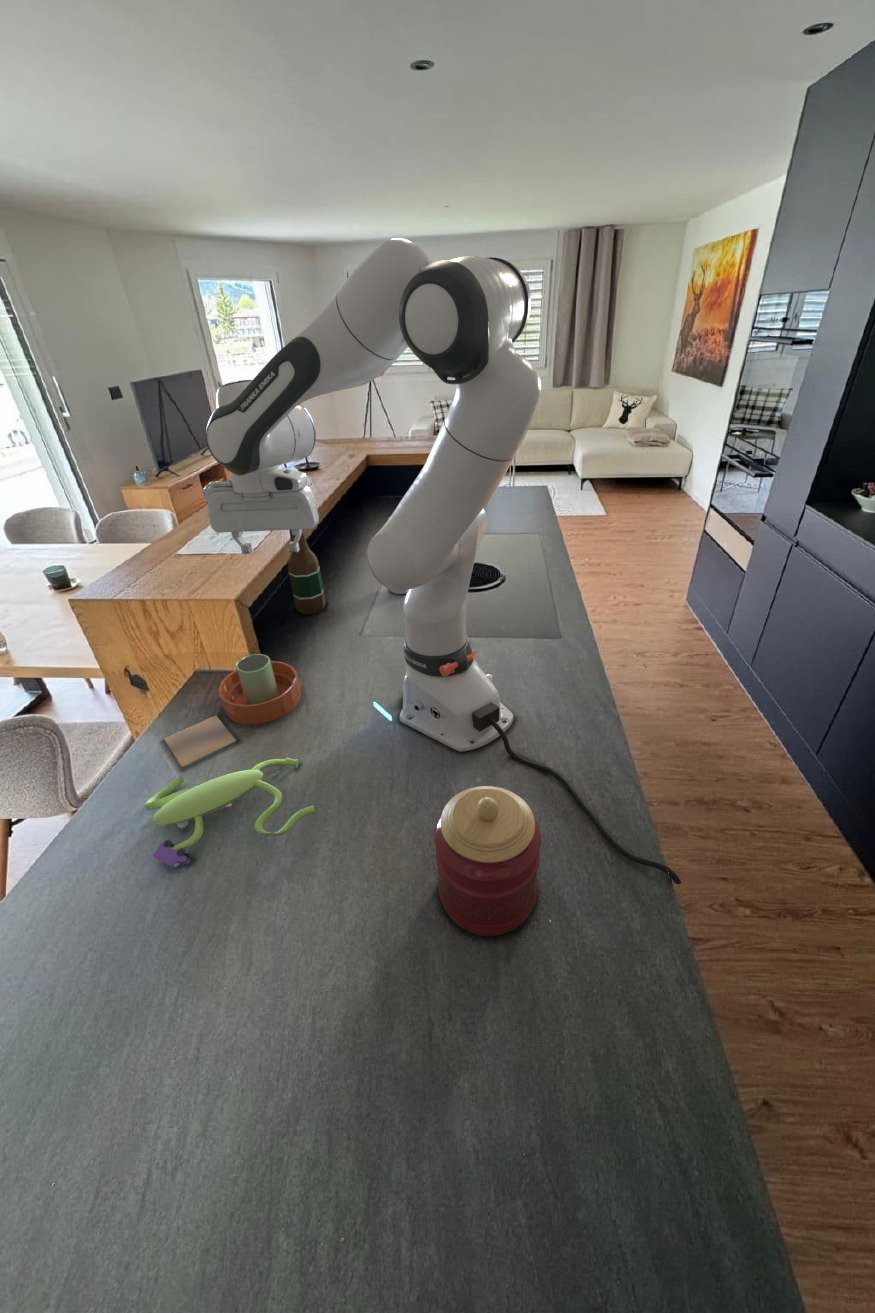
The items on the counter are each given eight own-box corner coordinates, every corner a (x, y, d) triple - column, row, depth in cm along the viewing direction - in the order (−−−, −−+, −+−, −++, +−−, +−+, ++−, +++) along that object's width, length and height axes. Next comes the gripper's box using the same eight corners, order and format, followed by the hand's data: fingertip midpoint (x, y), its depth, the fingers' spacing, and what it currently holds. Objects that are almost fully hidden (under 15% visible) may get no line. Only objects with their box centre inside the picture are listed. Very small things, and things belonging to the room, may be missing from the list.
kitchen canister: (476, 836, 82) (475, 747, 72) (554, 884, 75) (564, 792, 65) (418, 900, 74) (408, 809, 64) (500, 960, 67) (503, 869, 57)
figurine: (319, 848, 81) (313, 822, 78) (126, 885, 78) (112, 860, 74) (316, 761, 97) (311, 737, 94) (155, 789, 93) (144, 764, 90)
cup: (285, 700, 111) (275, 662, 106) (255, 714, 107) (244, 676, 102) (271, 686, 115) (261, 649, 110) (241, 699, 112) (230, 662, 107)
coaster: (237, 743, 102) (236, 740, 101) (182, 769, 96) (181, 767, 96) (216, 717, 108) (215, 715, 108) (164, 741, 103) (163, 738, 103)
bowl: (315, 703, 110) (311, 683, 108) (244, 737, 103) (237, 717, 100) (281, 672, 120) (276, 652, 118) (213, 701, 113) (206, 681, 110)
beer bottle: (290, 612, 143) (270, 522, 130) (307, 599, 149) (290, 511, 136) (316, 617, 140) (298, 525, 127) (332, 603, 146) (317, 514, 133)
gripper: (194, 485, 100) (212, 559, 106) (306, 480, 98) (318, 555, 105) (208, 478, 105) (225, 549, 112) (314, 473, 104) (325, 545, 110)
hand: (271, 552), depth 108 cm, fingers open, 8 cm apart
